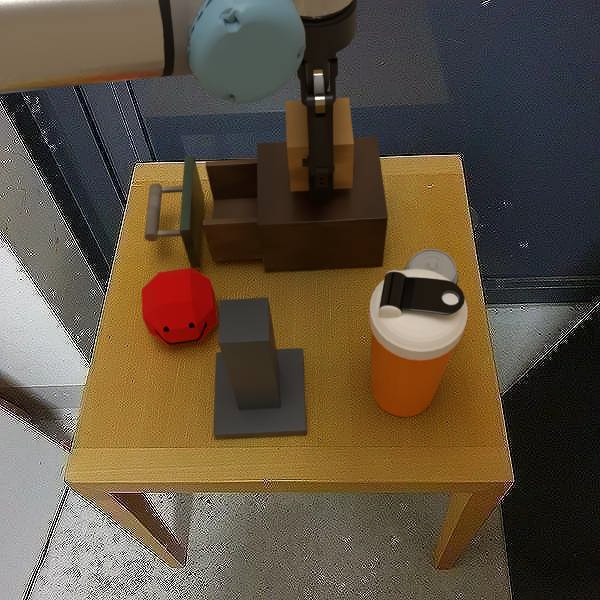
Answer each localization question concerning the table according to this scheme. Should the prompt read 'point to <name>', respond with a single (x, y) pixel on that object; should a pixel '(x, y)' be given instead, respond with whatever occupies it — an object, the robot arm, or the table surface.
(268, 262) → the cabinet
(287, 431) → the stand
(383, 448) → the table surface
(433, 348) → the shaker bottle
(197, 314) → the red faceted polyhedron
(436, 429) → the table surface
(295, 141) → the oak block
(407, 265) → the beverage can
